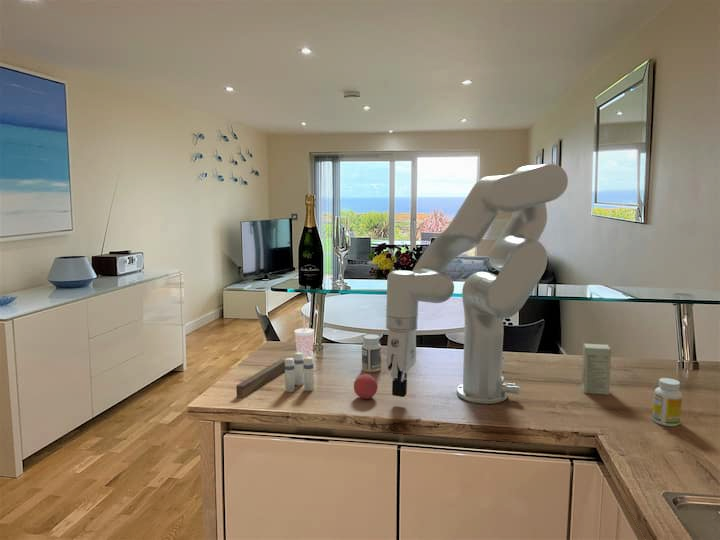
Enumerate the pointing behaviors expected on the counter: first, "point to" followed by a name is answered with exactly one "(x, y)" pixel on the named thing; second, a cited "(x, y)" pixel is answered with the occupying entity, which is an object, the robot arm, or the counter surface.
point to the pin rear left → (289, 375)
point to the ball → (365, 386)
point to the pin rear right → (298, 368)
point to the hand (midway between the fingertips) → (399, 394)
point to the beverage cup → (304, 340)
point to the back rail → (260, 378)
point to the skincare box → (596, 368)
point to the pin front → (308, 374)
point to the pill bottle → (371, 353)
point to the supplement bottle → (667, 402)
